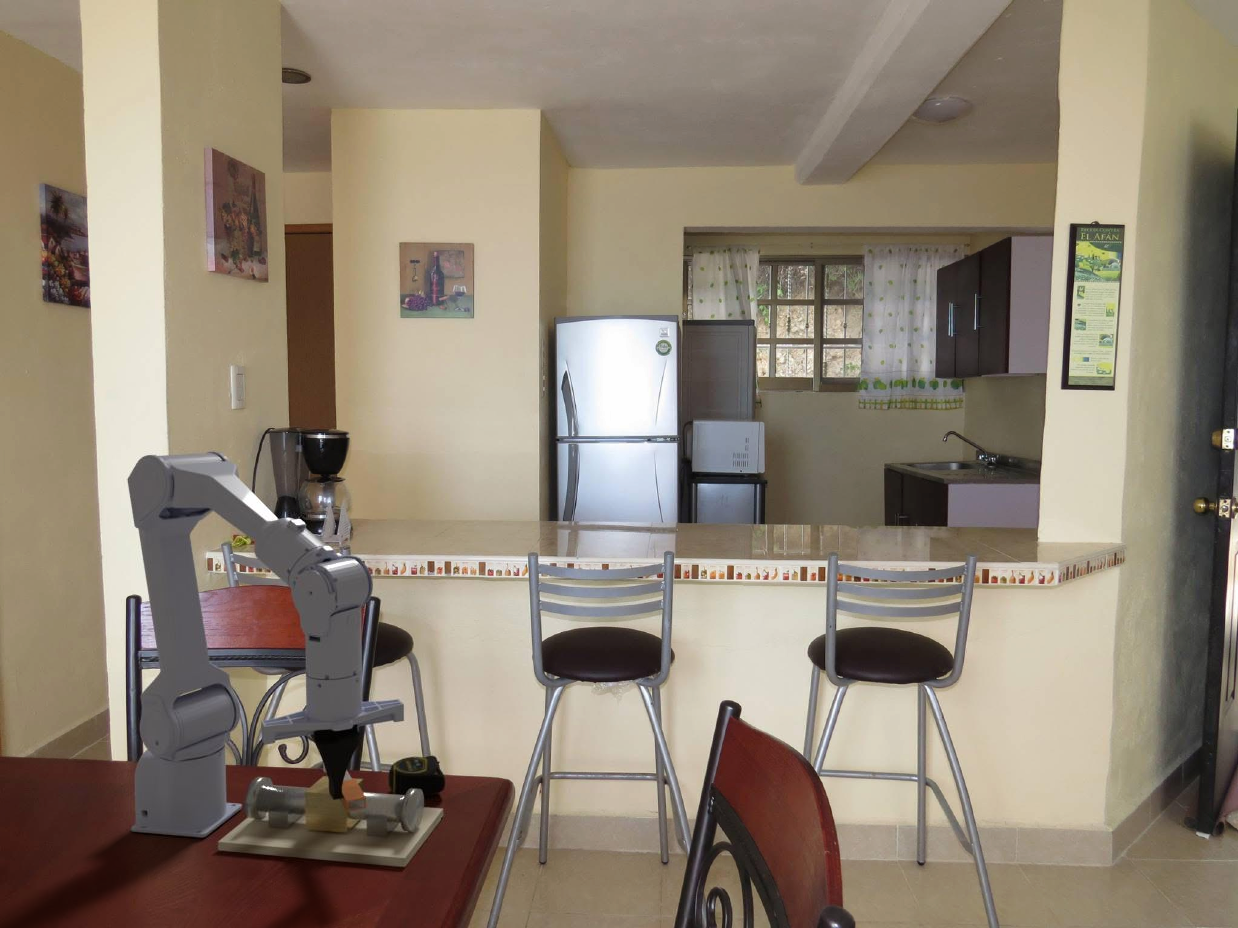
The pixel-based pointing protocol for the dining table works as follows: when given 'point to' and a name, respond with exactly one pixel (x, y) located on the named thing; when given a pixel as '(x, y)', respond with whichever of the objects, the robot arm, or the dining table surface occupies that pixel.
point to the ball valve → (332, 808)
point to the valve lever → (351, 794)
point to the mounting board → (331, 841)
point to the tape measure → (416, 775)
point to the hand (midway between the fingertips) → (335, 795)
